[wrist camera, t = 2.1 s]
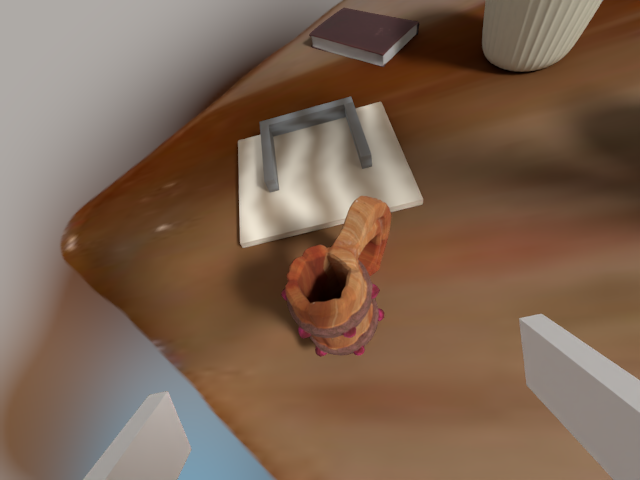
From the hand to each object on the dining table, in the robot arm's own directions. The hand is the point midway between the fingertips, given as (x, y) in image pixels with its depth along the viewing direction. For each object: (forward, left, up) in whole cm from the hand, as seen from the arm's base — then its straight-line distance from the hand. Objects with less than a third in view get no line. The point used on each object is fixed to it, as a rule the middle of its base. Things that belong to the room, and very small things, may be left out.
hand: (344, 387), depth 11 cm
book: (-15, -68, -25) cm, 74 cm away
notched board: (0, -34, -24) cm, 42 cm away
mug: (-1, -11, -24) cm, 27 cm away
